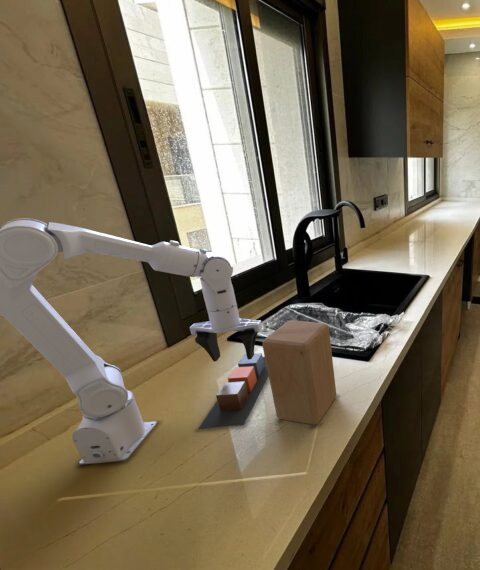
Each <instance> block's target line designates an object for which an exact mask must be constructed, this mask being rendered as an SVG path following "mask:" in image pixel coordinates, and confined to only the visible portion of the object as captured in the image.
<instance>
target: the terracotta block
mask: <svg viewBox="0 0 480 570" xmlns="http://www.w3.org/2000/svg"><path fill="white" fill-rule="evenodd" d="M243 381H245V384H246V388H247V392H251V391H252V389H253V387H254V385H255V383H256V382H257V378H256V374H255V369H254V366H251V367H238V366H237V367H234V369H233V370H232V371H231V373H230V375H229V376H228V377H227V383H229V382H243Z"/></svg>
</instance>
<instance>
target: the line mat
mask: <svg viewBox="0 0 480 570" xmlns="http://www.w3.org/2000/svg"><path fill="white" fill-rule="evenodd" d="M263 361H264V366H265V367H264V369H263V371H262V373H261V375H260V376H259V377H256V378H257V382H256V383H255V385H254V387H253V389H252V391H251V392H247V393H248V398H247V400H246V402H245V404H244V405H243V407H242V409H241V410H230V411H220V408H219V404H218V401H217V400H216V402H215V404H214V405H213V406H212V407H211V409H210V410H209V412H208V414H207V415H206V417H205V418H204V420H203V421H202V423H201V424H200V426H199V427H198V430H203V429H213V428H226V427H238V426H244V425H245V424H246V422H247V420H248V418H249V416H250V414H251V412H252V410H253V408H254V406H255V405H256V402H257V400H258V398H259V396H260V395H261V392H262V390H263V389H264V387H265V385H266V383H267V381H268V380H269V375H268V370H267V365H266V361H265V356H263Z"/></svg>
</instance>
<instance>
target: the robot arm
mask: <svg viewBox="0 0 480 570" xmlns="http://www.w3.org/2000/svg"><path fill="white" fill-rule="evenodd" d="M58 253H62V257H63V259H65V260H66V259H71V258H74V257H78V256H82V255H85V254H96V255H101V256H107V257H114V258H120V259H124V260H125V259H126V260H132V261H138V262H143V263H144V262H145V263H147V264H149V266H150V267H151V268H152V269H153V271H155V272H161V273H168V274H173V275H177V276H178V275H179V276H184V277H189V278H197V277H199V281H200V284H201V293H202V295H203V301H204V303H205V309H206V311H207V314H208V321H202V322H195V323H193V324H192V325H191V326H189V331H190V334H191V336H195V335H196V337H194V341H195V343H196V344H198V345H199V346H200V347H202V348H203V350H205V351H206V353H207V354H208V356H209V357H210V358H211V360H212V362H217V361H218V360H219V359H220V358H221V351H220V347H219V343H218V334H225V333H232V332H243V333H242V334H241V335H240V337H239V339H240V341H241V342H242V344H243V346H244V349H245V354H246V355H247V358H248V359H252V357H253V356H254V354H255V344H256V339H257V336H258V333H259V332H260V331H262V328H263V324H262V320H261V319H260V320H259V319H258V320H257V319H248V318H240V314H239V309H238V303H237V300H236V294H235V289H234V286H233V284H232V279H231V277H232V276H233V273H234V267H233V266H232V265H231V263H230V262H229V260H227V258H225V257H223V256H222V255H220V254H218V253H217V252H213V250H207V249H206V248H201V247H200V248H199V249H197V248H192V247H187V246H183V245H180V242H179V241H176V240H171V239H170V240H169V242H168V241H167V242H166V241H160V242H157V243H155V244H152V245H150V244H146V243H142V242H139V241H135V240H132V239H127V238H123V237H120V236H115V235H112V234H107V233H104V232H100V231H95V230H92V229H88V228H84V227H80V226H75V225H69V224H66V223H65V224H64V223H59V222H52V221H51V222H50V221H48V224H47V223H46V222H44V221H41V220H38V219H36V218H29V217H28V218H27V217H21V218H14V219H11V220H8V221H6V222H4V223H3V224H2V225H1V226H0V314H1V316H2V317H3V318H4V319H5V320H6V321H7V322H8V323H9V324H10V325H11V326H12V327H13V328H14V329H16V331H17V332H18V333H20V334H21V336H23V338H25V340H26V341H27V342H28V343H29V344H30V345H32V346H33V348H34V349H35V350H37V351H38V353H40V355H42V357H44V359H46V361H48V362H49V364H51V365H52V366H53V367H54V368H55V370H57V372H59V374H61V375H62V376H63V377H64V379H65V381H66V382H67V385H68V388H69V389H70V390H71V392H72V393H73V395H75V397H76V398H77V400H78V408H79V410H80V412H81V415H82V419H81V422H80V424H79V425H78V426H77V428H76V429H75V431H73V433H72V438H71V439H72V442H73V443H74V445H75V448H76V450H77V451H78V454H79V455H80V457H81V460H79V465H90V464H102V463H112V462H123V461H126V460H127V459H129V458H130V457H131V455H132V454H133V453H134V451H135V450H136V449H137V448H138V447H139V446H140V445H141V444H142V442H143V441H144V440H145V438H147V436H148V435H149V434H150V432H152V430H153V429H154V428H155V427H156V426H157V424H158V422H157V421H144V420H143V416H142V414H141V412H140V409H139V407H138V405H137V402H136V398H135V396H134V394H133V392H132V390H128V389H127V388H126V387H125V382H124V379H123V377H124V375H123V372H122V370H121V369H120V367H118V366H117V365H113V364H110V363H107V362H106V361H105V360H104V359H103V358H102V357H101V356H99V355H96V354H95V353H94V352H93V351H92V350H91V348H90V347H89V346H88V345H87V344H86V343H85V341H83V340H82V338H81V337H80V336H79V335H78V334H77V333H76V332H75V331H74V330H73V329H72V327H71V326H70V325H69V324H68V322H66V320H65V319H63V317H62V316H61V315H60V314H59V312H58V311H56V309H55V308H54V307H53V306H52V305H51V304H50V303H49V302H48V301H47V299H46V298H45V297H44V296H43V295H42V294H41V292H39V290H38V289H37V288H36V287H35V286H34V285H33V284H34V282H35V280H36V278H37V277H38V274H39V272H40V271H41V270H43V269H44V268H46V267H47V266H48V265H49V264H50V263H51V262H53V261H54V260H55V258H56V257H57V255H58Z"/></svg>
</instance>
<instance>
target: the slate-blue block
mask: <svg viewBox="0 0 480 570" xmlns="http://www.w3.org/2000/svg"><path fill="white" fill-rule="evenodd" d="M263 357H264V355H263V353H261V352H260V353H259V352H258V353H254V356H253V357H252V359H248V358H247V355H246V353H245V354H244V355H243V356H242V357H241V359H240V360H239V362H238V363H237V367H251V366H254V369H255V374H256V377H259V376H260V375H261V373H262V371H263V369H264V367H265V366H264V361H263Z"/></svg>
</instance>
